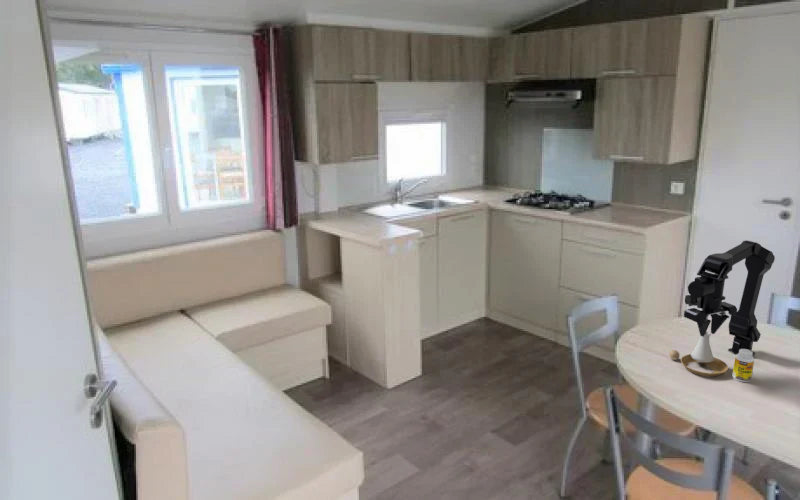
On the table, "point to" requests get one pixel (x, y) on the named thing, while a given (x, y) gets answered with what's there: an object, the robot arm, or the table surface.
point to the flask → (703, 350)
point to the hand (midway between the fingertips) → (707, 334)
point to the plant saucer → (715, 365)
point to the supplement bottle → (743, 365)
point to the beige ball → (674, 355)
